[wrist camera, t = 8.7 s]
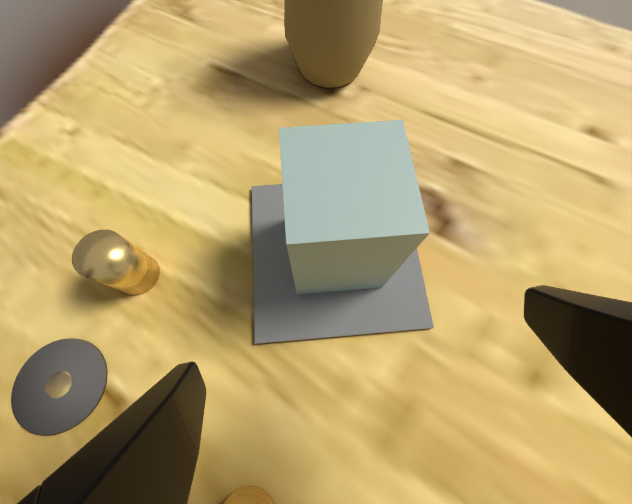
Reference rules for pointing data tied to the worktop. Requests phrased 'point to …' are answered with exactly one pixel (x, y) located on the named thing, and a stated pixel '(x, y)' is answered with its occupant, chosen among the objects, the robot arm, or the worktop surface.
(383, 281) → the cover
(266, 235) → the mat
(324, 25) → the squeeze bottle
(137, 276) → the pin
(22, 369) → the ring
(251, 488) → the peg
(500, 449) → the worktop surface
